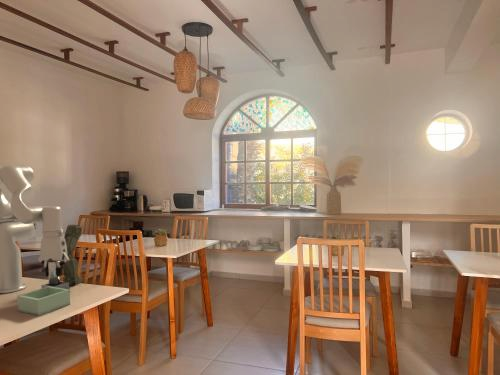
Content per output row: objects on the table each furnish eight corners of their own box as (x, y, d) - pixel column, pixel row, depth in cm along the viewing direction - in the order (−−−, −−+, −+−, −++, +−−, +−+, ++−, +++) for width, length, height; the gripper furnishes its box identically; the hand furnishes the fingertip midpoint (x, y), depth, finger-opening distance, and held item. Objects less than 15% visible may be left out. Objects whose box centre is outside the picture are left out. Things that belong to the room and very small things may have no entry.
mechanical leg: (64, 288, 162) (72, 223, 168) (50, 288, 163) (59, 223, 169) (84, 287, 175) (90, 226, 181) (71, 286, 176) (78, 226, 183)
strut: (53, 281, 158) (52, 254, 158) (62, 281, 158) (61, 254, 157) (46, 284, 154) (45, 257, 153) (55, 284, 153) (54, 257, 153)
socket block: (41, 296, 154) (40, 285, 154) (58, 291, 161) (57, 280, 161) (52, 299, 150) (52, 287, 150) (69, 293, 158) (69, 282, 157)
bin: (18, 311, 137) (17, 295, 137) (50, 300, 149) (49, 286, 149) (38, 316, 131) (37, 300, 131) (70, 304, 143) (69, 289, 143)
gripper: (75, 233, 158) (77, 273, 158) (40, 233, 160) (42, 273, 160) (65, 235, 150) (66, 278, 151) (28, 236, 152) (30, 278, 153)
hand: (54, 275), depth 156 cm, fingers closed on strut, 4 cm apart
